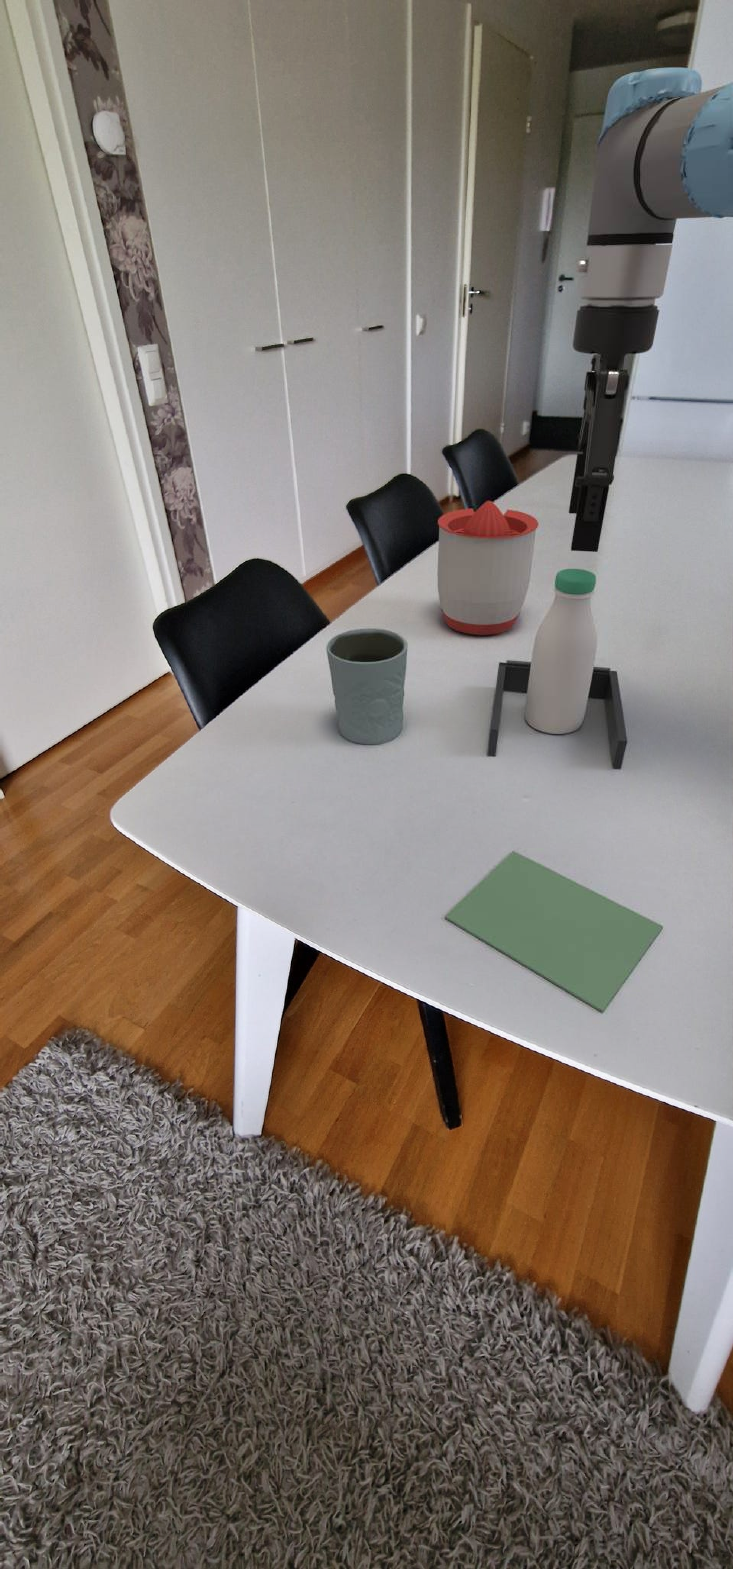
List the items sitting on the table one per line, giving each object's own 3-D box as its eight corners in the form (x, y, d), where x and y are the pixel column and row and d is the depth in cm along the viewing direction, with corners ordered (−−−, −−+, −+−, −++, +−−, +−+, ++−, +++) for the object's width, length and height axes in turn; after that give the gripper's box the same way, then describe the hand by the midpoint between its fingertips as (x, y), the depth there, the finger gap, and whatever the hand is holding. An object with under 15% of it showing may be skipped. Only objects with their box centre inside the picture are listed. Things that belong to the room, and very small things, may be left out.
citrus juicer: (526, 603, 126) (540, 486, 114) (525, 645, 112) (541, 517, 101) (439, 599, 129) (444, 483, 117) (428, 639, 115) (432, 513, 103)
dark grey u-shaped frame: (496, 687, 102) (499, 658, 99) (611, 696, 99) (617, 667, 96) (487, 755, 88) (490, 724, 85) (620, 769, 85) (628, 737, 82)
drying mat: (662, 928, 65) (663, 926, 64) (602, 1013, 57) (603, 1010, 57) (513, 852, 73) (513, 850, 73) (444, 918, 66) (444, 916, 66)
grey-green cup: (383, 755, 88) (382, 669, 81) (316, 735, 92) (310, 651, 85) (419, 718, 95) (421, 636, 88) (355, 701, 99) (352, 621, 92)
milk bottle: (589, 735, 91) (618, 585, 79) (529, 736, 91) (549, 586, 79) (575, 705, 97) (601, 562, 85) (519, 706, 97) (537, 563, 85)
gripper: (575, 297, 77) (548, 499, 90) (582, 311, 58) (547, 567, 70) (646, 296, 76) (609, 501, 88) (679, 311, 56) (625, 571, 69)
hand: (582, 530), depth 79 cm, fingers open, 13 cm apart
